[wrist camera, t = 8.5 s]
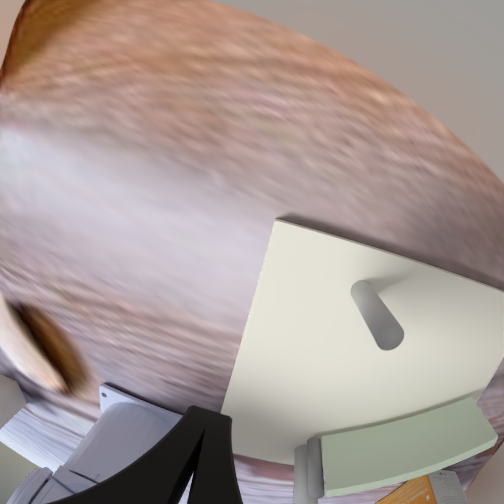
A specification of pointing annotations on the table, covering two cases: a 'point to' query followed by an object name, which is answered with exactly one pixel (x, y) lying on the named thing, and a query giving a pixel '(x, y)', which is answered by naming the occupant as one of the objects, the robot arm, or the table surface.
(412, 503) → the small box
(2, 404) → the model
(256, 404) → the gate frame
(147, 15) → the table surface
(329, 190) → the table surface
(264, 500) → the table surface
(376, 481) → the gate
